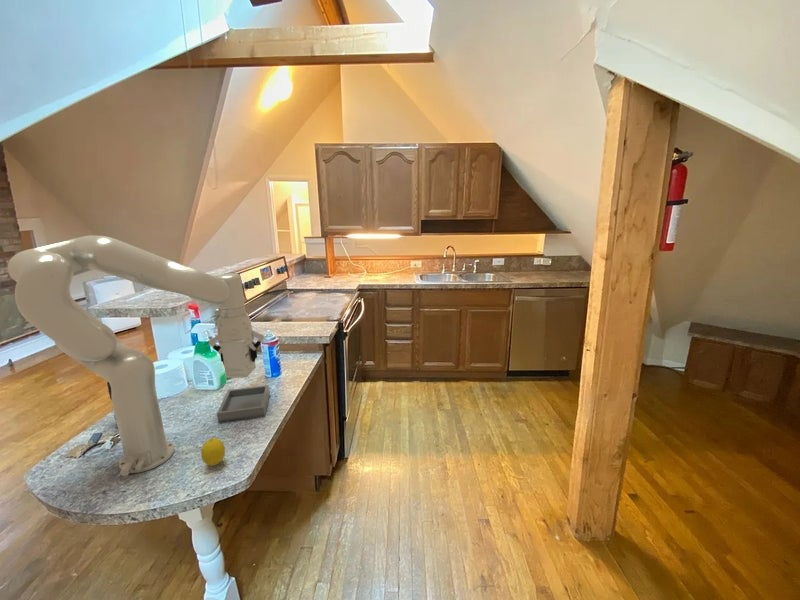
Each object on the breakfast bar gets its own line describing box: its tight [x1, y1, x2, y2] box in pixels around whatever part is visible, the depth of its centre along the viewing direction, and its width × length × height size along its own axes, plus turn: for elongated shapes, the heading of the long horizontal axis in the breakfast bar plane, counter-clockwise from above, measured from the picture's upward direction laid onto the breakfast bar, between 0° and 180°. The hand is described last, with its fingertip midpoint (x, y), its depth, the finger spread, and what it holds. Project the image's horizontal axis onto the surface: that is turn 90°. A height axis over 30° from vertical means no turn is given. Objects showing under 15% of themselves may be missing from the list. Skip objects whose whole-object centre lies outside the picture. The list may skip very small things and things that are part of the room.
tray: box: [216, 384, 271, 424], centre depth 123 cm, size 16×14×4 cm
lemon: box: [200, 437, 226, 467], centre depth 95 cm, size 6×6×8 cm
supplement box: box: [222, 340, 257, 379], centre depth 119 cm, size 7×7×13 cm
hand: (239, 361), depth 120 cm, fingers closed on supplement box, 8 cm apart
